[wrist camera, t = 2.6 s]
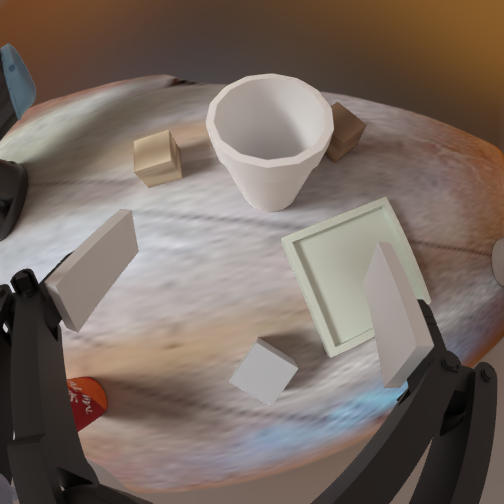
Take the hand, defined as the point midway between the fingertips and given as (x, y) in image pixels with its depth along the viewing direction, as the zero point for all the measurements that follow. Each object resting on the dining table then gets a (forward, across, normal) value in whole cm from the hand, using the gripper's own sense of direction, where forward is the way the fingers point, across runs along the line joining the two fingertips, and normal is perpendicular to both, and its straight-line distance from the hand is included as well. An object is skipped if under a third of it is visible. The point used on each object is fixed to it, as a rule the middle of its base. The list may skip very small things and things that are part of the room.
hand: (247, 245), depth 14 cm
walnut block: (+24, +7, +2) cm, 25 cm away
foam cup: (+18, 0, -4) cm, 19 cm away
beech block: (+19, -14, -2) cm, 24 cm away
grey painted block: (+4, +2, -17) cm, 18 cm away
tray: (+12, +11, -10) cm, 19 cm away
